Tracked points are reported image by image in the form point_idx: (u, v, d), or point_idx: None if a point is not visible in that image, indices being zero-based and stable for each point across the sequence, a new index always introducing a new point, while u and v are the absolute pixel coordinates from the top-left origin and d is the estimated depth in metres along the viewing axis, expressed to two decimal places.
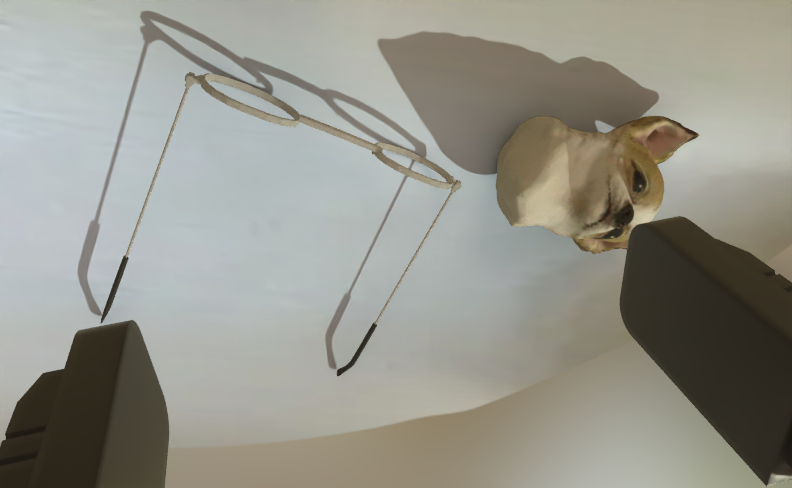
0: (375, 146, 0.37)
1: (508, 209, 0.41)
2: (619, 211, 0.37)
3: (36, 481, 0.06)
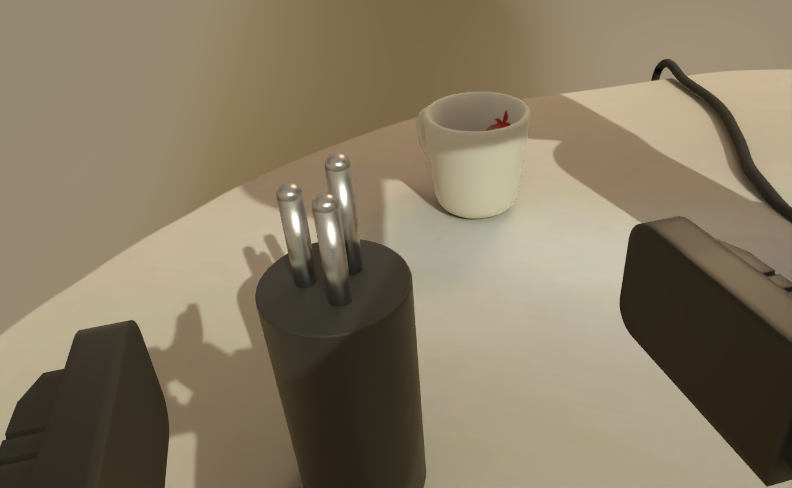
0: None
1: None
2: None
3: (36, 481, 0.06)
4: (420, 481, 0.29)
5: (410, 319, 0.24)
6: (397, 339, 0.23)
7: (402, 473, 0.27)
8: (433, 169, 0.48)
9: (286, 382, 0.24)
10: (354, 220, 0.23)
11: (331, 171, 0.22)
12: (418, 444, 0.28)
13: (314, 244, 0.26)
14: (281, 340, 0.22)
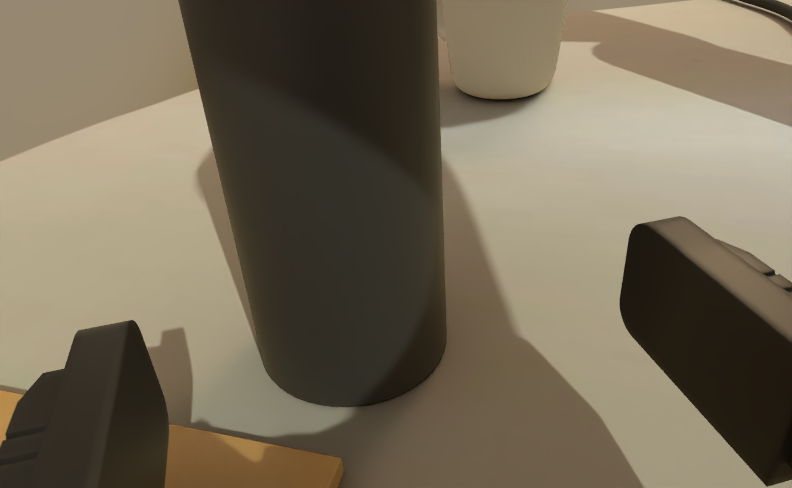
0: None
1: None
2: None
3: (36, 481, 0.06)
4: (439, 338, 0.19)
5: None
6: (408, 6, 0.13)
7: (413, 304, 0.17)
8: (450, 34, 0.38)
9: (217, 99, 0.14)
10: None
11: None
12: (438, 265, 0.18)
13: None
14: None
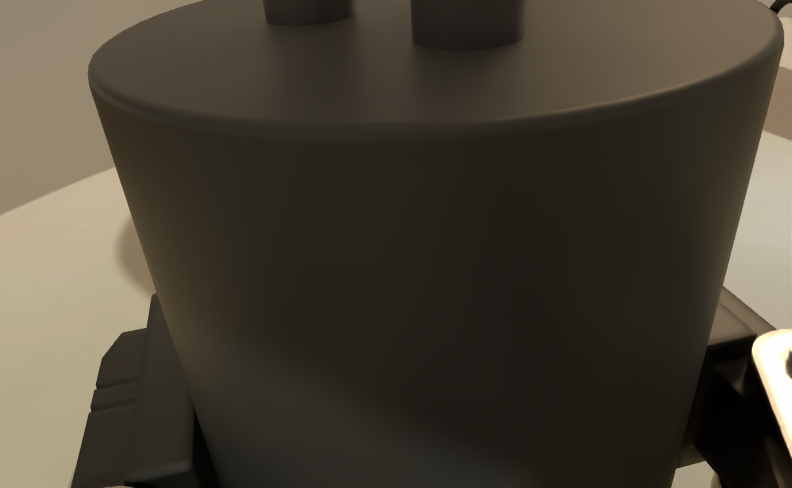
0: None
1: None
2: None
3: (139, 419, 0.07)
4: None
5: None
6: (732, 225, 0.05)
7: None
8: None
9: (219, 421, 0.06)
10: None
11: None
12: None
13: None
14: (176, 193, 0.04)
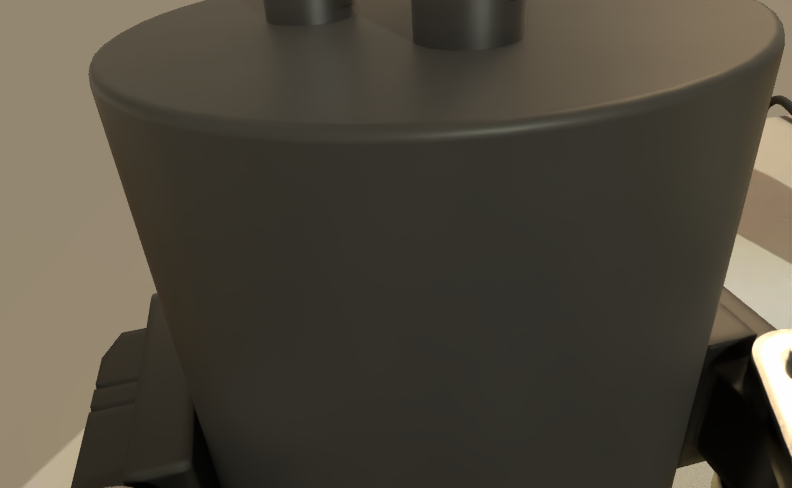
0: None
1: None
2: None
3: (139, 419, 0.07)
4: None
5: None
6: (732, 225, 0.05)
7: None
8: None
9: (219, 422, 0.06)
10: None
11: None
12: None
13: None
14: (178, 195, 0.04)
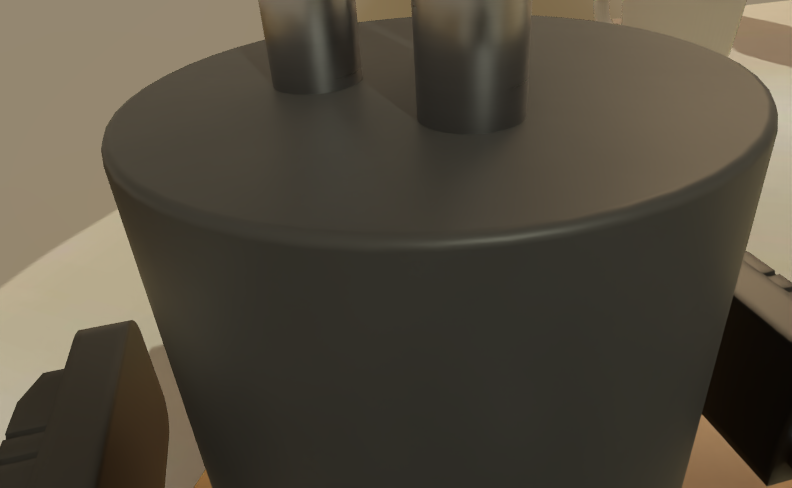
0: None
1: None
2: None
3: (36, 481, 0.06)
4: None
5: None
6: (727, 298, 0.05)
7: None
8: None
9: (227, 482, 0.06)
10: None
11: None
12: None
13: None
14: (191, 281, 0.04)
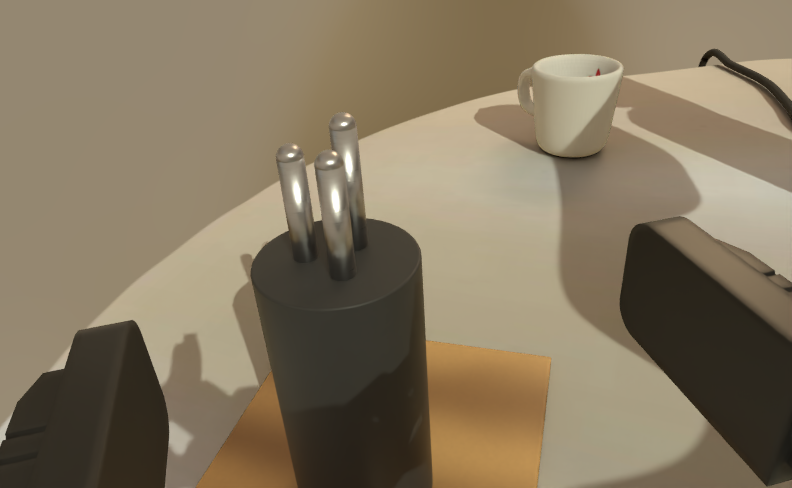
0: None
1: None
2: None
3: (36, 481, 0.06)
4: None
5: (419, 298, 0.22)
6: (405, 318, 0.21)
7: (408, 476, 0.25)
8: (539, 115, 0.57)
9: (281, 367, 0.22)
10: (359, 188, 0.21)
11: (336, 130, 0.20)
12: (425, 445, 0.25)
13: (315, 222, 0.24)
14: (277, 315, 0.20)
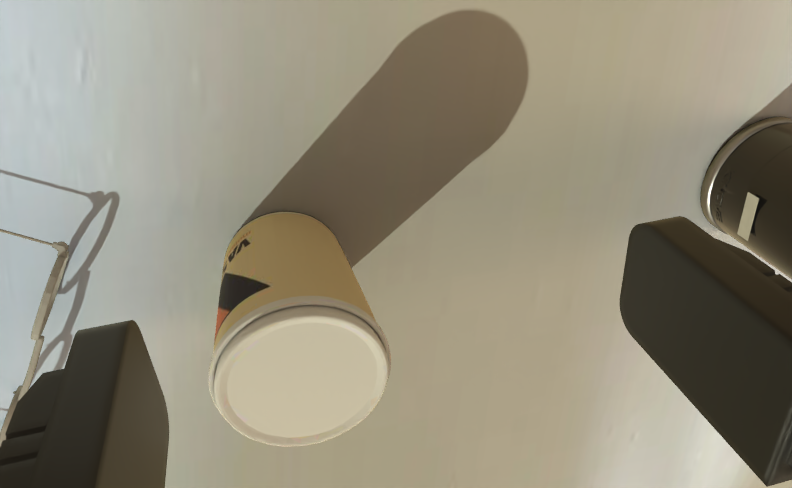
0: None
1: None
2: None
3: (36, 481, 0.06)
4: None
5: None
6: None
7: None
8: None
9: None
10: None
11: None
12: None
13: None
14: None
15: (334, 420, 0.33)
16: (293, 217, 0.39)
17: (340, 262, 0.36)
